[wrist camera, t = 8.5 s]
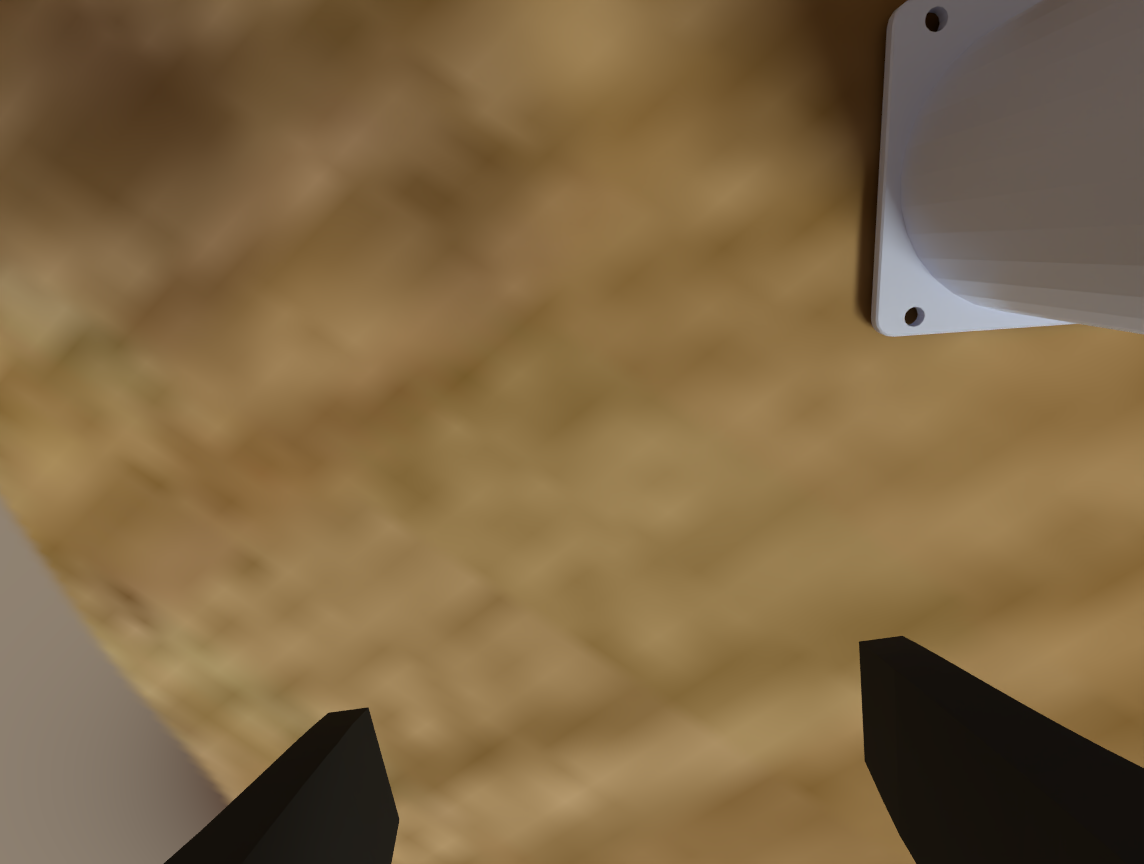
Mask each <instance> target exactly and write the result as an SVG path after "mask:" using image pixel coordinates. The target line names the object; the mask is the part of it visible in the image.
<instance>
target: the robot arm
mask: <svg viewBox="0 0 1144 864" xmlns="http://www.w3.org/2000/svg"><path fill="white" fill-rule="evenodd" d="M928 12H930V13H935V14H936V15H937V16H938V17H939V23H940V24H939V28H938V30H937V32H932V31H929V29H928V28H927V27H926V24H925V18H926V15H927V13H928ZM913 307H915V308H916V309H917V313H918V315H917V318H916V320H915V321H914V322H913V323H912V324H909V325H907V324H906V323H905V319H904V317H905V314H906V312H907V311H908V310H909V309H910V308H913ZM871 322H872V326H873V327H874V329H875V330H876V331H877V332H879V333H880V334H883V335H886V336H893V337H894V336H908V335H922V334H936V333H951V332H965V331H979V330H994V329H1008V328H1022V327H1036V326H1051V325H1065V324H1083V325H1090V326H1096V327H1102V328H1108V329H1114V330H1121V331H1127V332H1133V333H1139V334H1144V0H908V1H906V2H905V3H904V4H902V5H901V6H900V7H899V8H897V9H896V10H895V11H894V12H893V14H892V15H891V17H890V18H889V21H888V26H887V34H886V52H885V71H884V89H883V107H882V126H881V144H880V162H879V181H878V199H877V217H876V236H875V254H874V272H873V290H872V309H871ZM859 650H860V671H861V692H862V713H863V733H864V754H865V762H866V764H867V767H868V769H869V771H870V773H871V775H872V778H873V780H874V782H875V784H876V786H877V789H878V791H879V793H880V795H881V797H882V800H883V802H884V804H885V806H886V808H887V810H888V812H889V814H890V816H891V818H892V820H893V822H894V825H895V827H896V829H897V831H898V833H899V835H900V837H901V838H902V840H903V842H904V843H905V845H906V847H907V848H908V850H909V852H910V854H911V855H912V857H913V859H914V860H915V862H916V864H1144V768H1142V767H1140V766H1138V765H1136V764H1134V763H1132V762H1130V761H1128V760H1126V759H1124V758H1122V757H1120V756H1118V755H1117V754H1115V753H1113V752H1111V751H1109V750H1107V749H1105V748H1103V747H1101V746H1099V745H1097V744H1095V743H1093V742H1092V741H1090V740H1088V739H1086V738H1084V737H1082V736H1080V735H1078V734H1076V733H1075V732H1073V731H1071V730H1069V729H1067V728H1065V727H1063V726H1062V725H1060V724H1058V723H1056V722H1054V721H1052V720H1051V719H1049V718H1047V717H1045V716H1043V715H1042V714H1040V713H1038V712H1036V711H1034V710H1033V709H1031V708H1029V707H1027V706H1025V705H1024V704H1022V703H1020V702H1018V701H1017V700H1015V699H1013V698H1011V697H1010V696H1008V695H1006V694H1004V693H1003V692H1001V691H999V690H997V689H996V688H994V687H992V686H990V685H989V684H987V683H985V682H983V681H982V680H980V679H978V678H976V677H975V676H973V675H971V674H970V673H968V672H966V671H964V670H963V669H961V668H959V667H957V666H956V665H954V664H952V663H950V662H949V661H947V660H945V659H944V658H942V657H940V656H938V655H937V654H935V653H933V652H931V651H929V650H928V649H926V648H924V647H922V646H921V645H919V644H917V643H915V642H913V641H911V640H909V639H907V638H905V637H903V636H898V637H891V638H883V639H876V640H868V641H861V642H859ZM398 824H399V816H398V813H397V809H396V806H395V802H394V798H393V795H392V791H391V787H390V784H389V780H388V777H387V773H386V769H385V766H384V762H383V759H382V755H381V751H380V748H379V744H378V741H377V737H376V733H375V730H374V726H373V723H372V719H371V715H370V712H369V708H361V709H354V710H346V711H339V712H331V713H328V714H327V715H325V716H324V717H323V718H322V719H321V720H319V721H318V722H317V723H316V724H315V725H314V726H312V727H311V728H310V729H309V730H308V731H307V732H306V733H305V734H304V735H303V736H301V737H300V738H299V739H298V740H297V741H296V742H295V743H294V744H293V745H292V746H291V747H290V748H289V749H287V750H286V751H285V752H284V753H283V754H282V755H281V756H280V757H279V758H278V759H277V760H276V761H275V762H274V763H273V764H272V765H271V766H270V767H268V768H267V769H266V770H265V771H264V772H263V773H262V774H261V775H260V776H259V777H258V778H257V779H256V780H255V781H254V782H253V783H252V784H250V785H249V786H248V787H247V788H246V789H245V790H244V791H243V792H242V793H241V794H240V795H239V796H238V797H237V798H235V799H234V800H233V801H232V802H231V803H230V804H229V805H228V806H227V807H226V808H225V809H224V810H223V811H222V812H221V813H220V814H218V815H217V816H216V817H215V818H214V819H213V820H212V821H211V822H210V823H209V824H208V825H207V826H206V827H204V828H203V829H202V830H201V831H200V832H199V833H198V834H197V835H196V836H195V837H193V838H192V839H191V840H190V841H189V842H188V843H187V844H185V845H184V846H183V847H182V848H181V849H180V850H179V851H178V852H176V853H175V854H174V855H173V856H172V857H171V858H169V859H168V860H167V861H166V862H165V863H164V864H391V862H392V857H393V851H394V846H395V840H396V835H397V830H398Z"/></svg>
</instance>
